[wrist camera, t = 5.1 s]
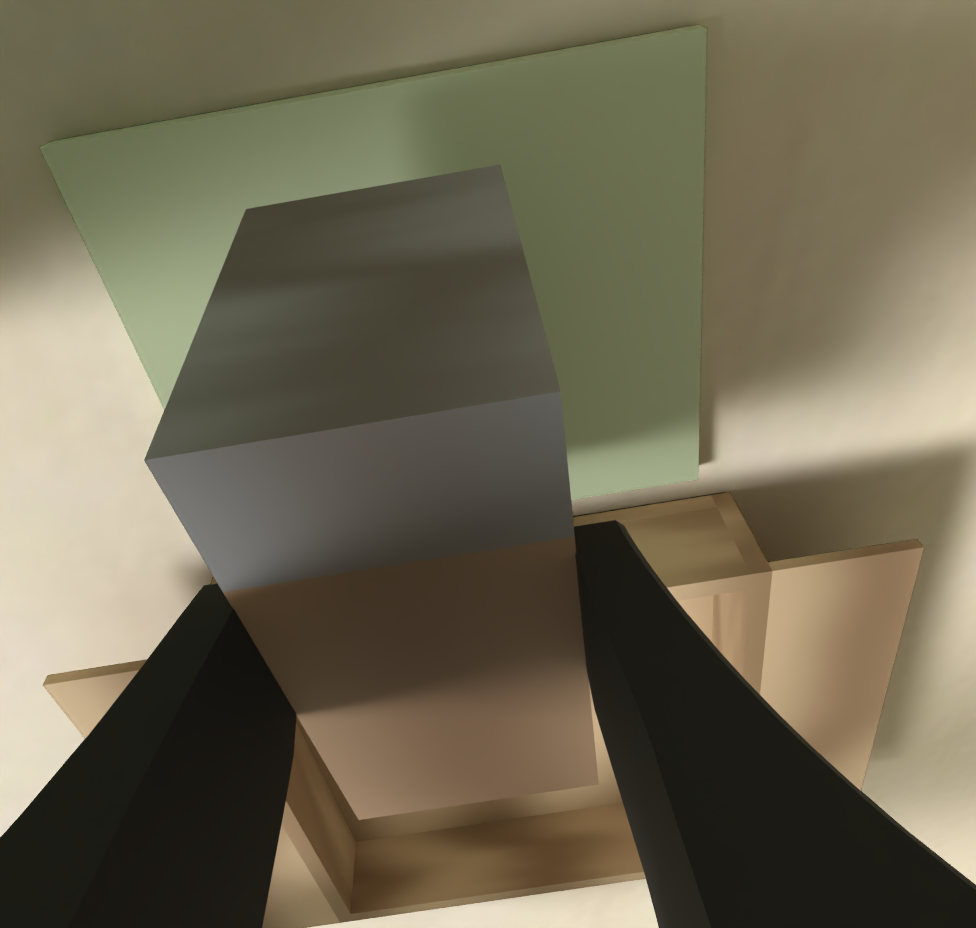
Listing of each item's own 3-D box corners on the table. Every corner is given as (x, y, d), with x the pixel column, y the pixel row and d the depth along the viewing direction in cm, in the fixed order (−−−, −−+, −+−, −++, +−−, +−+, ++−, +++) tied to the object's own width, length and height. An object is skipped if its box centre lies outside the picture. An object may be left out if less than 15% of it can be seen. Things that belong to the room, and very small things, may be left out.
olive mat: (237, 541, 20) (233, 554, 19) (50, 141, 14) (39, 147, 13) (692, 468, 19) (698, 479, 19) (698, 24, 13) (707, 28, 13)
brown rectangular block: (371, 550, 17) (359, 820, 12) (245, 208, 12) (143, 459, 7) (547, 523, 17) (598, 784, 12) (500, 164, 12) (560, 391, 7)
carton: (257, 850, 29) (241, 936, 26) (88, 594, 20) (42, 685, 18) (808, 769, 28) (845, 849, 25) (862, 471, 20) (924, 547, 17)
